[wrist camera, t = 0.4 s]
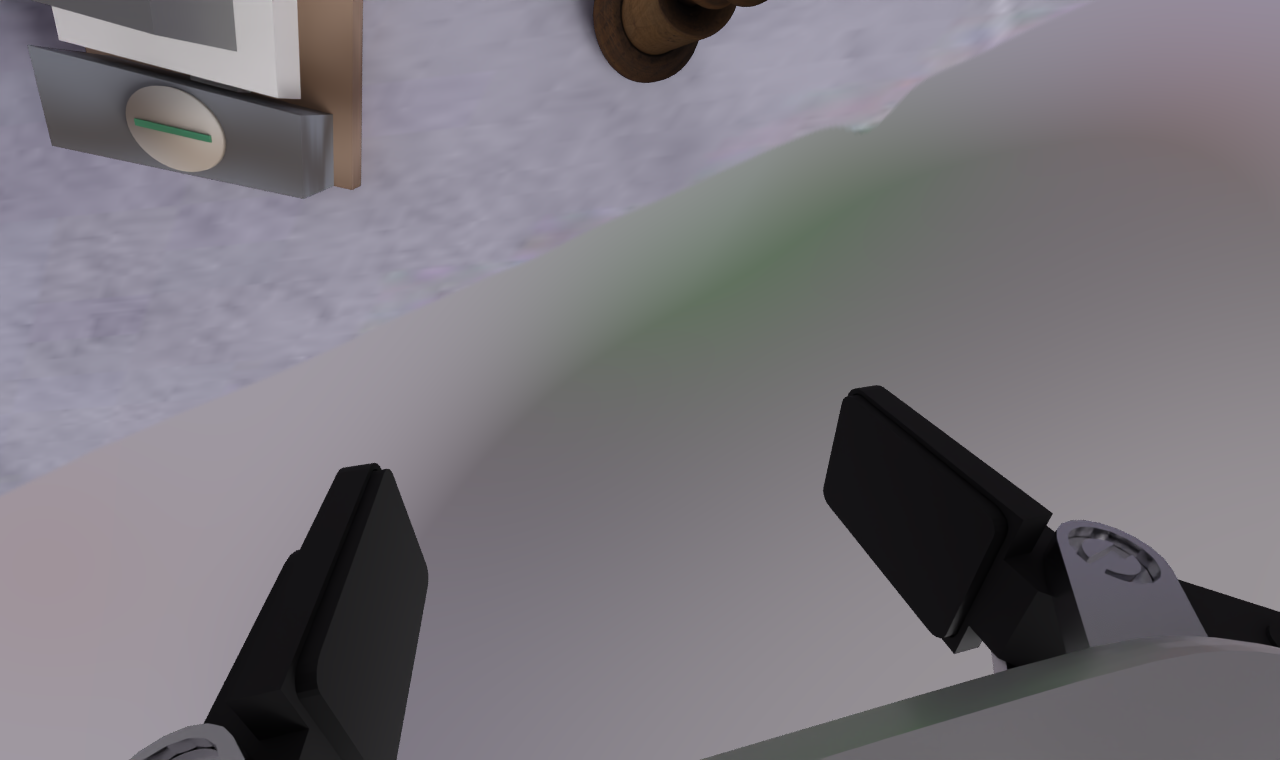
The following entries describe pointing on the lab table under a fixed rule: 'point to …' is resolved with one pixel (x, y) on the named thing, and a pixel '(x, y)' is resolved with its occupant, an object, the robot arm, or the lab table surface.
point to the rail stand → (219, 111)
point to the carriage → (194, 37)
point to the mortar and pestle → (657, 33)
